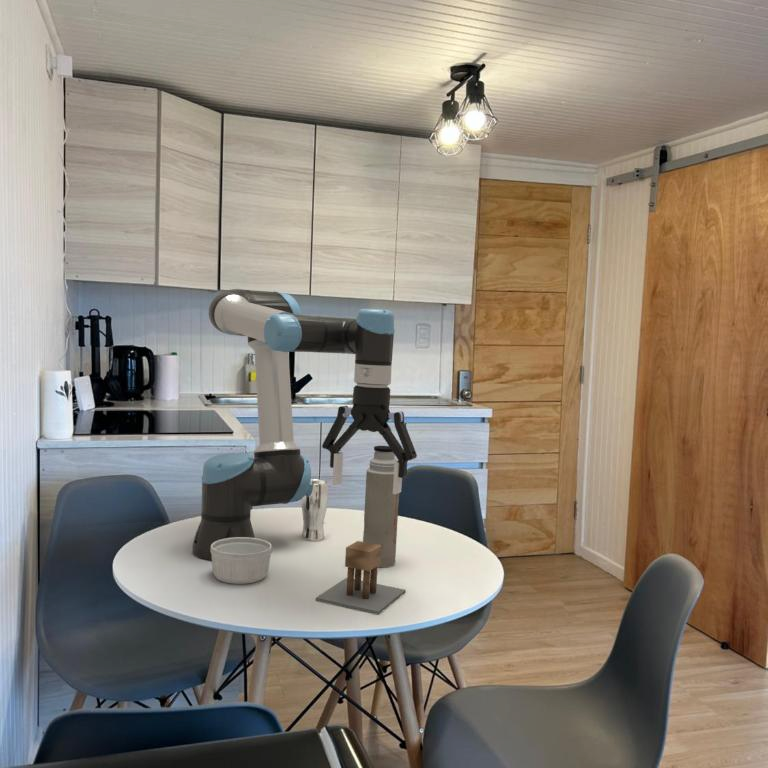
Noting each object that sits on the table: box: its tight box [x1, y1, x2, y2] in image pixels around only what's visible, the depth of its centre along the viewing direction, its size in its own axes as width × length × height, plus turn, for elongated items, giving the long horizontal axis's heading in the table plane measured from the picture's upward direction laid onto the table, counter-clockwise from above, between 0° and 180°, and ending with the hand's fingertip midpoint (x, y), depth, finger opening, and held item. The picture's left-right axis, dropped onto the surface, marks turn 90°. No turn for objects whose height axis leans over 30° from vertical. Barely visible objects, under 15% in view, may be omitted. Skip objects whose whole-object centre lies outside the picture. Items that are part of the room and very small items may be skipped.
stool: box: [344, 540, 381, 599], centre depth 148 cm, size 6×6×10 cm
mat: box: [315, 577, 406, 615], centre depth 148 cm, size 14×14×1 cm
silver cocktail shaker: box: [300, 478, 329, 542], centre depth 188 cm, size 7×7×15 cm
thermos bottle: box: [362, 445, 400, 568], centre depth 170 cm, size 8×8×28 cm
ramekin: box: [210, 537, 273, 585], centre depth 157 cm, size 13×13×7 cm
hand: (366, 488), depth 147 cm, fingers open, 13 cm apart
